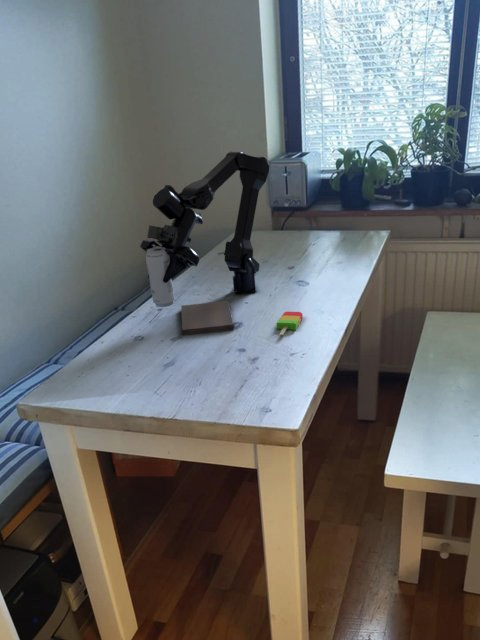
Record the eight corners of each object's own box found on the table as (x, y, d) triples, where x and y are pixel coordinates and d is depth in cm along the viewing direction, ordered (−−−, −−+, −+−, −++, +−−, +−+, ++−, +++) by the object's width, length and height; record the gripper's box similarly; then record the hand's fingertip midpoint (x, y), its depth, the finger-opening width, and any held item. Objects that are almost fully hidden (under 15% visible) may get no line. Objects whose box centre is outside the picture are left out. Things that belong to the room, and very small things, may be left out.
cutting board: (228, 305, 182) (227, 300, 181) (233, 329, 165) (233, 324, 164) (181, 310, 181) (181, 305, 180) (182, 335, 164) (182, 329, 164)
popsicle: (303, 317, 169) (303, 311, 168) (291, 338, 157) (290, 331, 156) (284, 317, 171) (284, 310, 170) (270, 337, 159) (270, 331, 158)
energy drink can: (155, 300, 173) (146, 247, 164) (176, 299, 172) (168, 246, 164) (152, 308, 168) (142, 253, 159) (173, 306, 167) (165, 252, 159)
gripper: (139, 208, 165) (114, 260, 164) (185, 215, 154) (159, 270, 153) (165, 232, 174) (142, 280, 173) (211, 239, 163) (186, 291, 162)
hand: (156, 280), depth 165 cm, fingers closed on energy drink can, 6 cm apart
